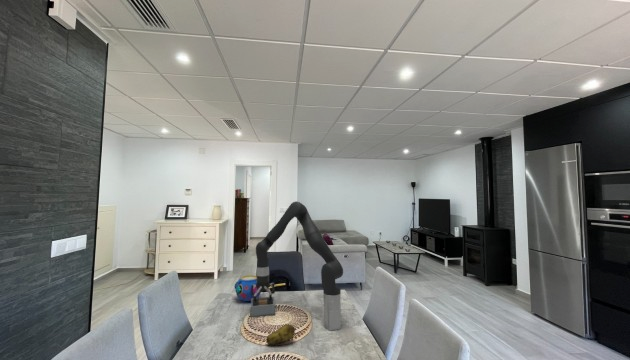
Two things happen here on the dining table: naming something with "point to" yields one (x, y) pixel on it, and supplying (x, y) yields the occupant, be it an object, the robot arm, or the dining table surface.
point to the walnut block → (263, 301)
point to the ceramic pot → (246, 287)
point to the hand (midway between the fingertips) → (262, 301)
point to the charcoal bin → (262, 308)
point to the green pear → (281, 334)
